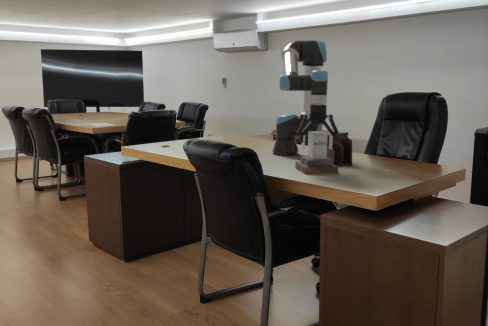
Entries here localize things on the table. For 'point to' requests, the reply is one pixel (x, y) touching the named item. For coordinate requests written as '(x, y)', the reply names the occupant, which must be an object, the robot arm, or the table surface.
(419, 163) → the table surface
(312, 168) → the riser
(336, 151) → the letter holder
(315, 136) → the supplement box
